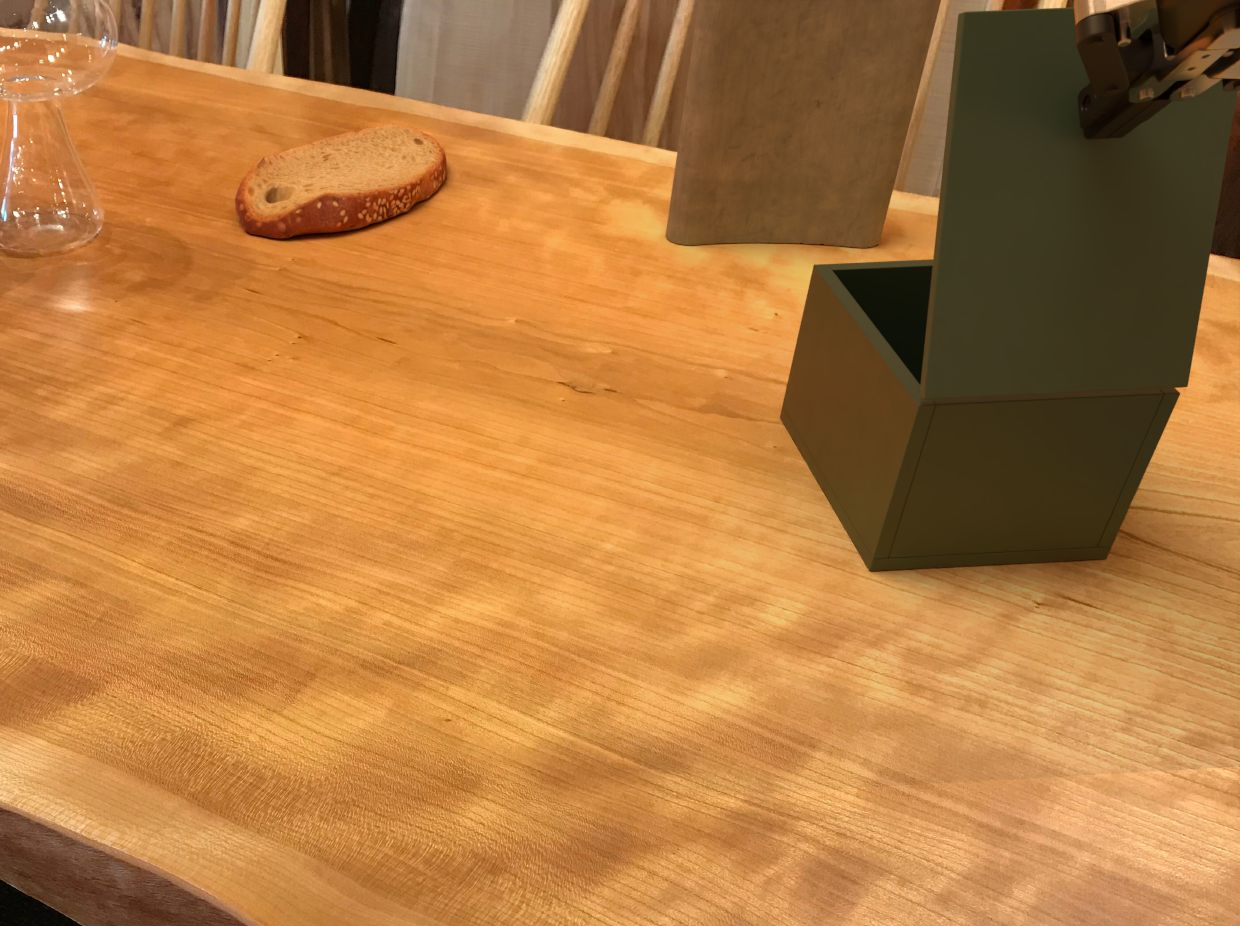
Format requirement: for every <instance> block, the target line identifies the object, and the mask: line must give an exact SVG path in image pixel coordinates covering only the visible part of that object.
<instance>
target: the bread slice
mask: <svg viewBox="0 0 1240 926" xmlns="http://www.w3.org/2000/svg"><path fill="white" fill-rule="evenodd" d="M447 166H448V165H447V156H446V152H445V149H444V147H443V146H442V144H441V143H440V142H439V141H438V140H437V139H435V138H434V137H433V136H432V135H431V134H428V133H427V132H424V131H422V130H419V129H417V128H415V127H414V126H413V127H412V126H406V125H402V124H396V123H392V124H384V125H379V126H374V127H372V126H371V127H365V128H361V129H360V130H353V131H351V130H349V131H347V132H345V133H339V134H335V135H332V136H328V137H324V138H322V139H317V140H314V141H313V142H311V143H305V144H303V145H301V146H298V147H293V148H290V149H287V150H286V151H282V152H279V153H276V154H270V155H267V156H266V157H265V156H263V157H261V158H260V159H258V160H257V162H256V163H255V164H254V165H253V166H252V167H251V168H250V169H249V170H247V173H246V174H245V176H243V179H242V180H241V182H240V184H239V186H238V188H237V190H236V193H235V196H234V208H235V212H236V214H237V216H238V218H239V221H240V222H241V226H242V228H243V230H244V231H246V232H247V233H248V234H251V235H258V236H263V237H268V238H273V239H290V238H291V237H294V236H300V235H311V234H324V233H325V234H326V233H329V234H330V233H340V232H347V231H352V230H359V229H361V228H364V227H367V226H369V225H371V224H375V223H381V222H383V221H386V220H388V219H390V218H393V217H396V216H398V215H400V214H403V213H407V212H408V211H410V210H411V208H412V207H413V206H414V205H416V204H417V203H419V202H422V201H424V200H428V199H429V198H430V197H432V196H433V195H434V194H435V193H436V192H437V191H438V190H439V188H440V186H441V185H442V184H443V183H444V181H445V179H446V177H447V172H448V171H447V170H448V167H447Z"/></svg>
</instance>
